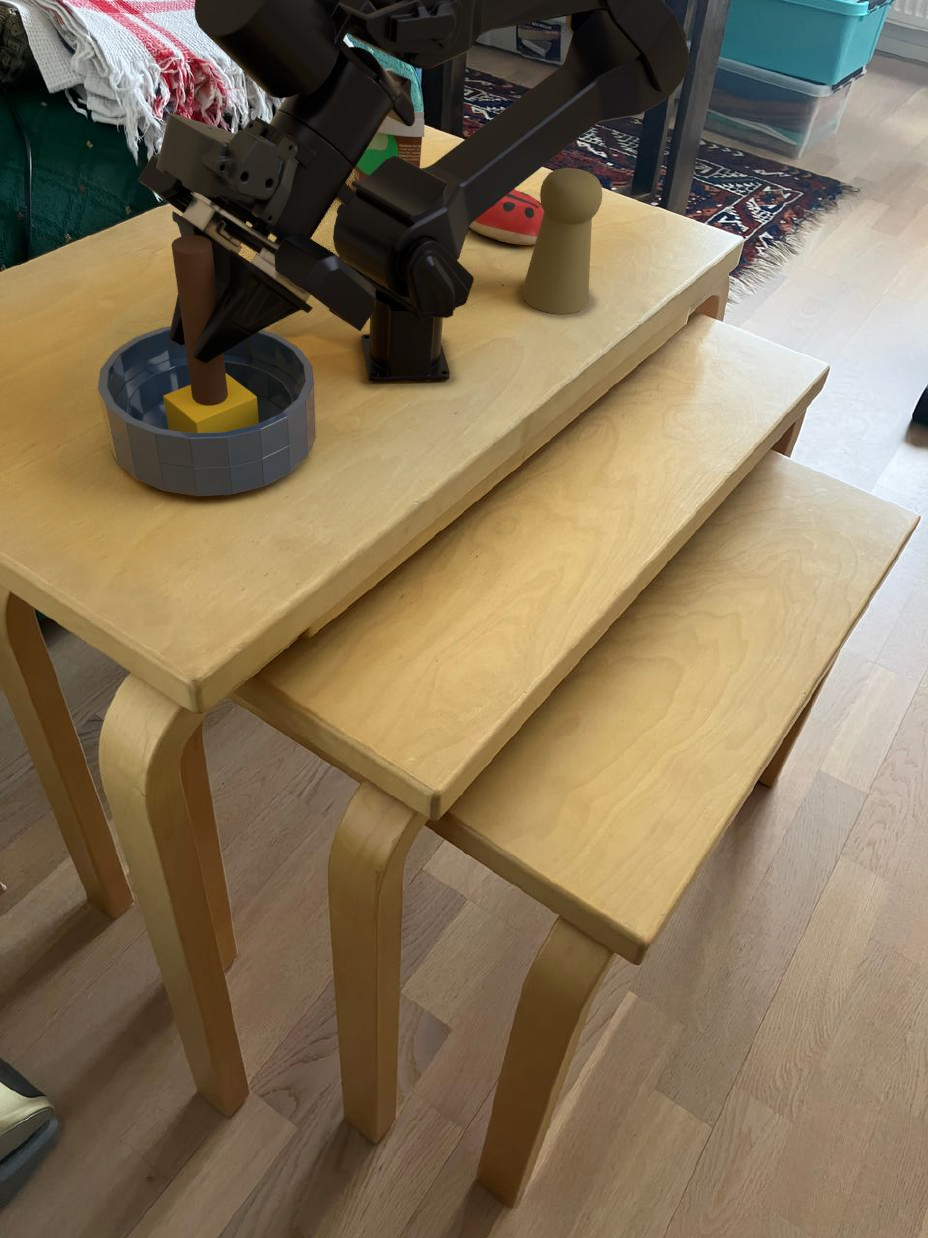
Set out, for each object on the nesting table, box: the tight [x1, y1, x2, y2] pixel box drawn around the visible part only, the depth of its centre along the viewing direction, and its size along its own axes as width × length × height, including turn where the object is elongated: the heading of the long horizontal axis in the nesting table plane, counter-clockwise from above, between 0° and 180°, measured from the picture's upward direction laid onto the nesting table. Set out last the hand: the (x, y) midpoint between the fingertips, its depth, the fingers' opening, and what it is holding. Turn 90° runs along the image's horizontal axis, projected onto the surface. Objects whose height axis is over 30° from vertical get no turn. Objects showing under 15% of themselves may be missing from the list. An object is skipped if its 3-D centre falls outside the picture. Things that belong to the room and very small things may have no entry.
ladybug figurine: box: [469, 188, 544, 246], centre depth 99 cm, size 7×10×4 cm
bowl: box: [97, 325, 317, 497], centre depth 71 cm, size 14×14×6 cm
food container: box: [353, 68, 425, 191], centre depth 100 cm, size 12×6×10 cm, turn 17°
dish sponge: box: [163, 235, 259, 433], centre depth 68 cm, size 5×4×14 cm
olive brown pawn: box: [521, 167, 603, 315], centre depth 88 cm, size 6×6×11 cm
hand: (186, 350), depth 67 cm, fingers closed on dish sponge, 2 cm apart
